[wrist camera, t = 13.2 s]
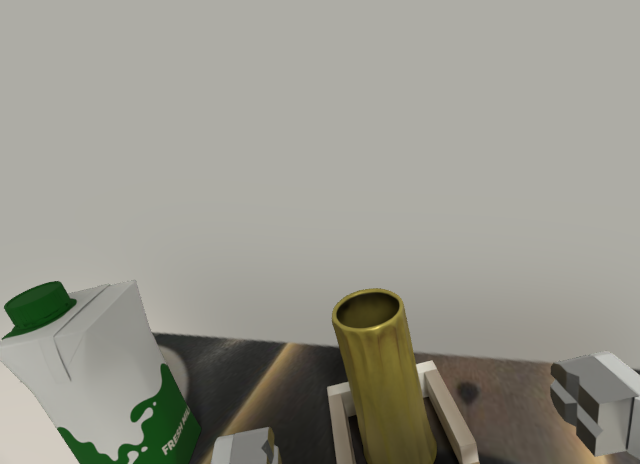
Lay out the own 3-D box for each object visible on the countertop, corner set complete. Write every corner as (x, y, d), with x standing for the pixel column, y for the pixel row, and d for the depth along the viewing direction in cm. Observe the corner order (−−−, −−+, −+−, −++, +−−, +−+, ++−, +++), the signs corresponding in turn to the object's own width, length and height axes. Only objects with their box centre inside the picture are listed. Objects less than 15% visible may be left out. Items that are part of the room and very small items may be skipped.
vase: (388, 408, 37) (357, 279, 32) (450, 436, 32) (425, 293, 27) (350, 459, 33) (308, 321, 28) (414, 499, 29) (378, 345, 24)
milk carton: (135, 433, 42) (45, 273, 35) (214, 420, 41) (136, 253, 34) (88, 519, 34) (-43, 333, 27) (184, 505, 33) (74, 308, 26)
